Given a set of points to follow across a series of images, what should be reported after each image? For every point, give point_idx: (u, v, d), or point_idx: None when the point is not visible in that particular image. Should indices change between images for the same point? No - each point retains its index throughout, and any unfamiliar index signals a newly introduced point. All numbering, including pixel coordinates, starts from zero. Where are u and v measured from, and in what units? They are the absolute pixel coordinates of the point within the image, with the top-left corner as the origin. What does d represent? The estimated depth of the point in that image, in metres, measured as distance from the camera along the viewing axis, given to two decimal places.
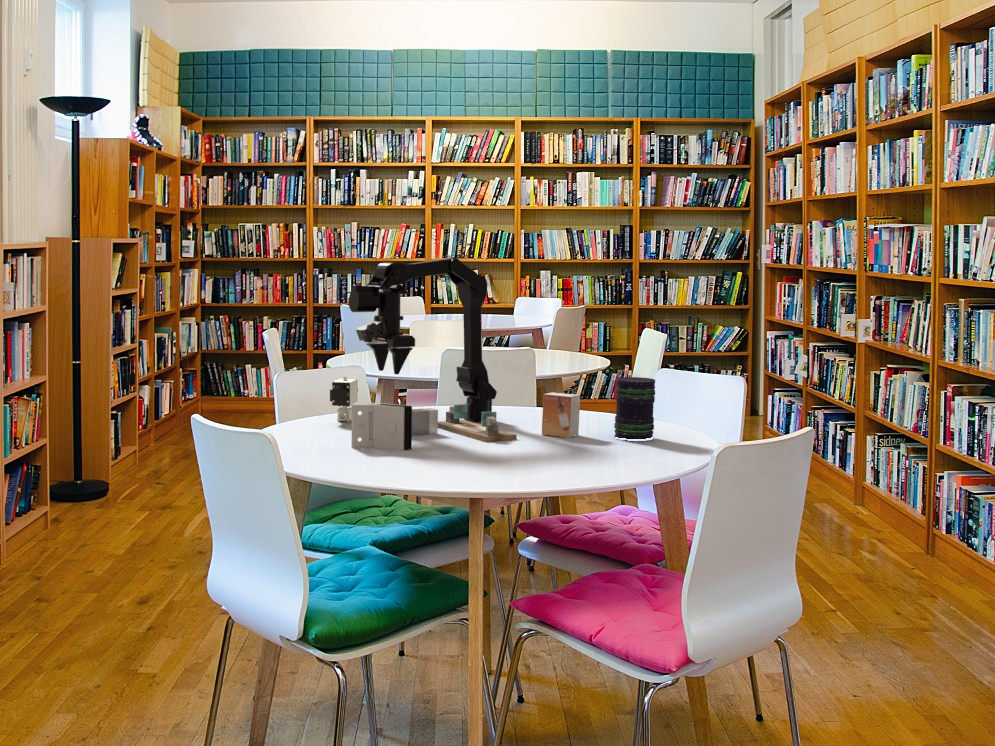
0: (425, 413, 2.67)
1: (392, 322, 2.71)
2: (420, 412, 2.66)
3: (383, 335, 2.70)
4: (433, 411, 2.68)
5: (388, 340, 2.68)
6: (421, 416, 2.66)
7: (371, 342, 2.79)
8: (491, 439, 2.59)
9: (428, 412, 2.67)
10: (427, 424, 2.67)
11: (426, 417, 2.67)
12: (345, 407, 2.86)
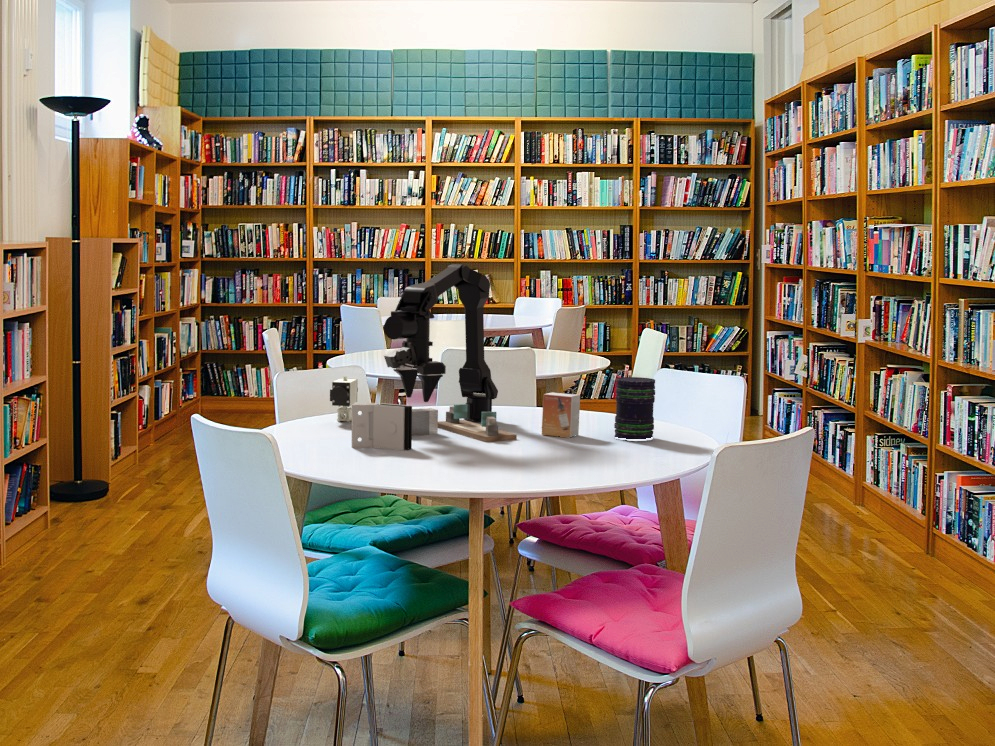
0: (425, 413, 2.67)
1: (421, 348, 2.63)
2: (420, 412, 2.66)
3: (412, 362, 2.62)
4: (433, 411, 2.68)
5: (418, 367, 2.59)
6: (421, 416, 2.66)
7: (399, 368, 2.70)
8: (491, 439, 2.59)
9: (428, 412, 2.67)
10: (427, 424, 2.67)
11: (426, 417, 2.67)
12: (345, 407, 2.86)
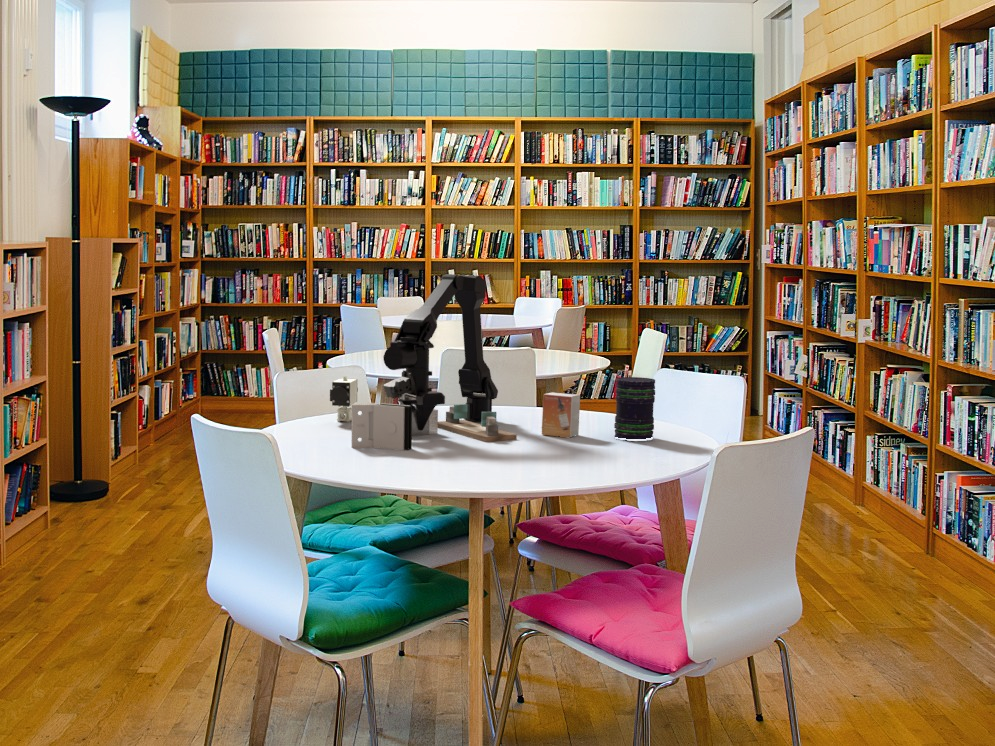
0: None
1: (420, 378, 2.64)
2: None
3: (412, 392, 2.63)
4: (433, 411, 2.68)
5: (417, 397, 2.60)
6: None
7: None
8: (491, 439, 2.59)
9: None
10: (427, 424, 2.67)
11: None
12: (345, 407, 2.86)
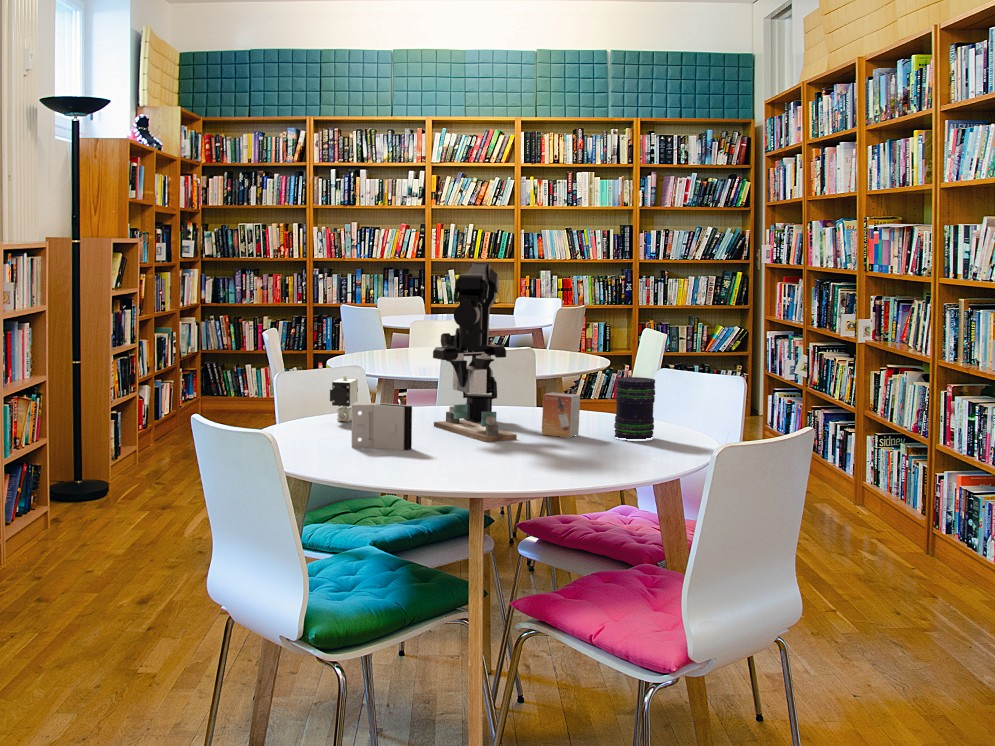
0: None
1: (459, 334, 2.68)
2: None
3: (454, 347, 2.70)
4: (471, 370, 2.66)
5: None
6: None
7: None
8: (491, 439, 2.59)
9: (467, 370, 2.67)
10: (467, 382, 2.67)
11: (466, 375, 2.67)
12: (345, 407, 2.86)
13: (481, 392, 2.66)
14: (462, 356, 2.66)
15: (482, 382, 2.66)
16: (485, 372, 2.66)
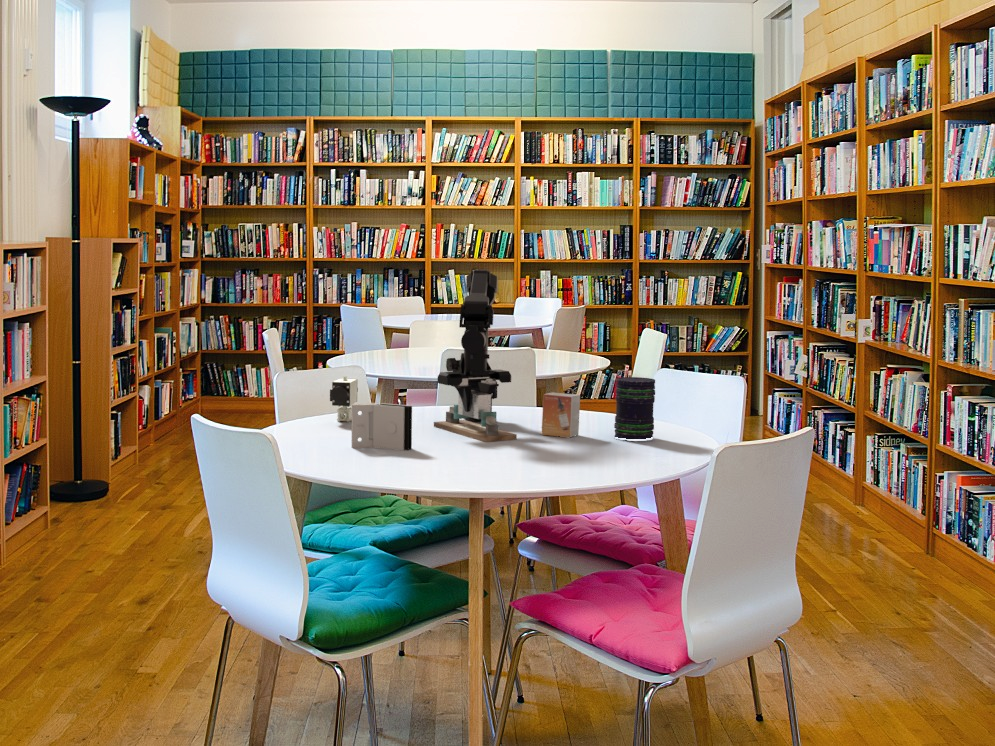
0: None
1: (464, 359, 2.69)
2: None
3: (459, 372, 2.71)
4: (476, 395, 2.67)
5: None
6: None
7: None
8: (491, 439, 2.59)
9: (472, 395, 2.68)
10: (471, 407, 2.68)
11: (471, 400, 2.68)
12: (345, 407, 2.86)
13: None
14: (466, 381, 2.67)
15: (486, 407, 2.67)
16: (489, 397, 2.67)
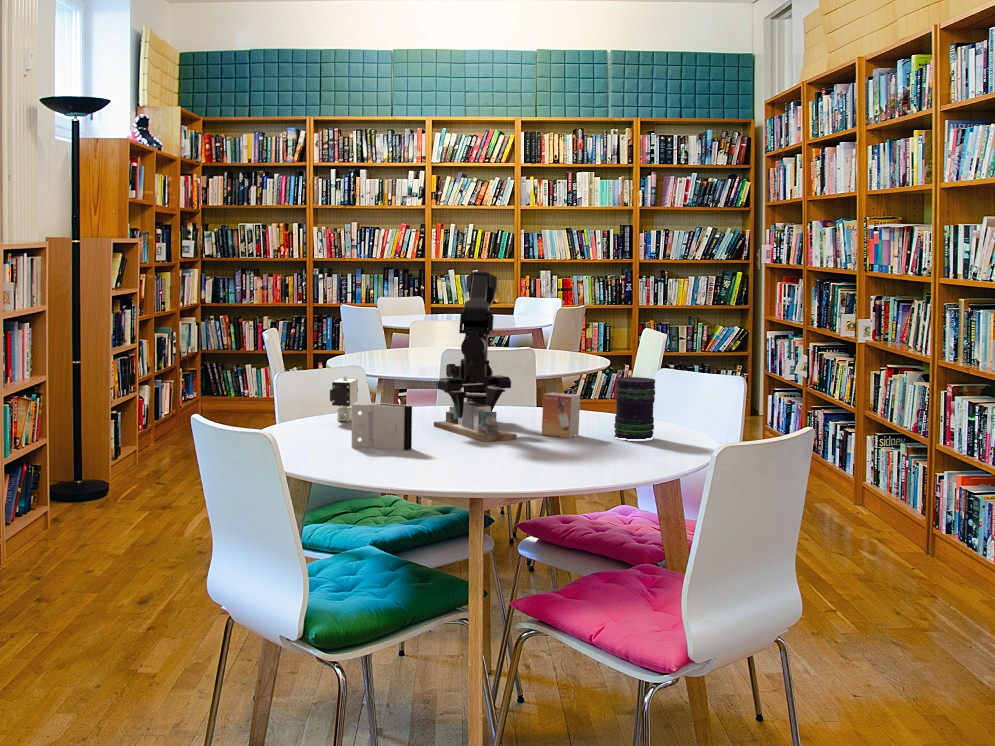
0: (470, 407, 2.69)
1: (464, 365, 2.69)
2: (467, 405, 2.70)
3: (459, 377, 2.71)
4: (475, 407, 2.67)
5: None
6: (468, 410, 2.70)
7: None
8: (491, 439, 2.59)
9: (472, 407, 2.68)
10: (471, 419, 2.69)
11: (470, 411, 2.69)
12: (345, 407, 2.86)
13: (485, 429, 2.68)
14: None
15: None
16: (489, 409, 2.68)
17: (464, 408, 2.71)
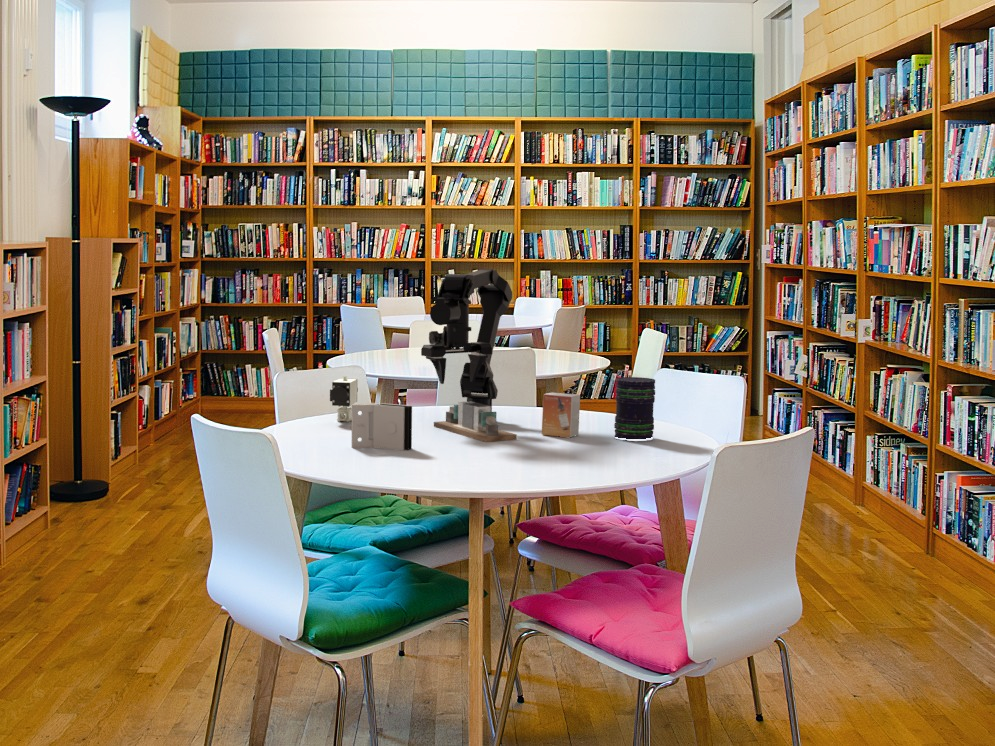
0: (470, 407, 2.69)
1: (447, 332, 2.76)
2: (467, 405, 2.70)
3: (442, 344, 2.78)
4: (475, 407, 2.67)
5: None
6: (468, 410, 2.70)
7: None
8: (491, 439, 2.59)
9: (472, 407, 2.68)
10: (471, 419, 2.69)
11: (470, 411, 2.69)
12: (345, 407, 2.86)
13: (485, 429, 2.68)
14: None
15: None
16: (489, 409, 2.68)
17: (464, 408, 2.71)
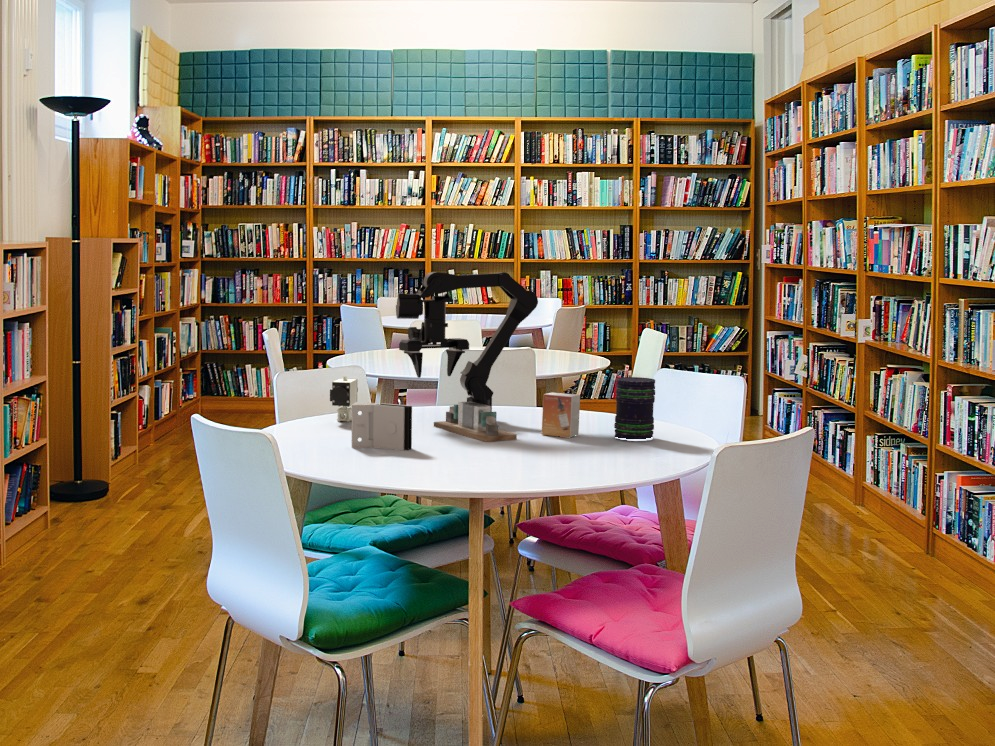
0: (470, 407, 2.69)
1: (424, 328, 2.86)
2: (467, 405, 2.70)
3: (420, 339, 2.88)
4: (475, 407, 2.67)
5: None
6: (468, 410, 2.70)
7: None
8: (491, 439, 2.59)
9: (472, 407, 2.68)
10: (471, 419, 2.69)
11: (470, 411, 2.69)
12: (345, 407, 2.86)
13: (485, 429, 2.68)
14: None
15: None
16: (489, 409, 2.68)
17: (464, 408, 2.71)
